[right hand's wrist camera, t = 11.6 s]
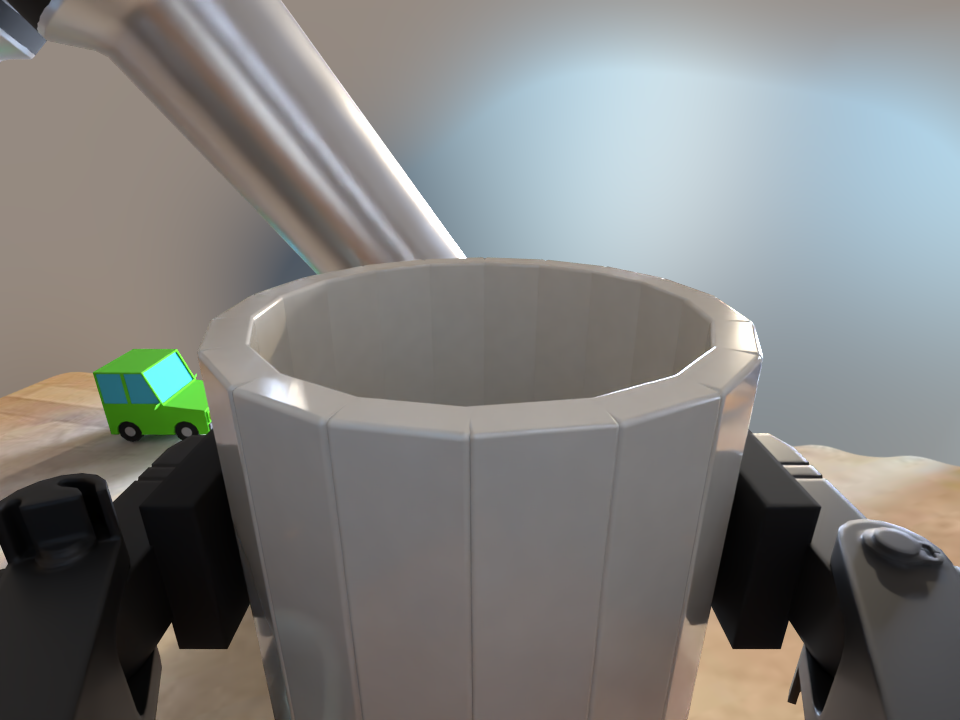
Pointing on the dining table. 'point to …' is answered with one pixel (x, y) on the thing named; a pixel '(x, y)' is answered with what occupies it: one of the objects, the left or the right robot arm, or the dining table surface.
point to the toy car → (152, 395)
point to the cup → (480, 485)
